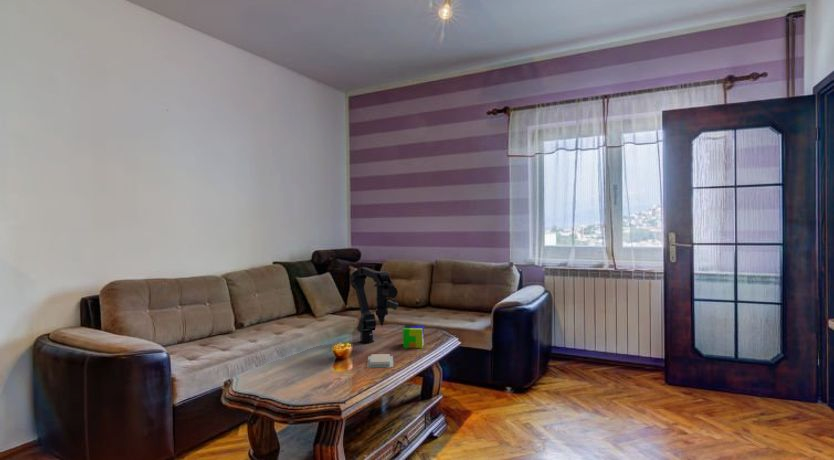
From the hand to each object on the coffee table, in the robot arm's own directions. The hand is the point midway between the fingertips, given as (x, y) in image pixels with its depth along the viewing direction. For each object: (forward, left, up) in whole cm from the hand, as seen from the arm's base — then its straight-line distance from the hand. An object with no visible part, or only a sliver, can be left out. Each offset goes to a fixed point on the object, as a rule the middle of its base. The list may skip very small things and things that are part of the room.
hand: (382, 325), depth 240 cm
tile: (+13, -16, -10) cm, 23 cm away
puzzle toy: (+11, +13, -12) cm, 21 cm away
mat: (+15, -19, -12) cm, 27 cm away
